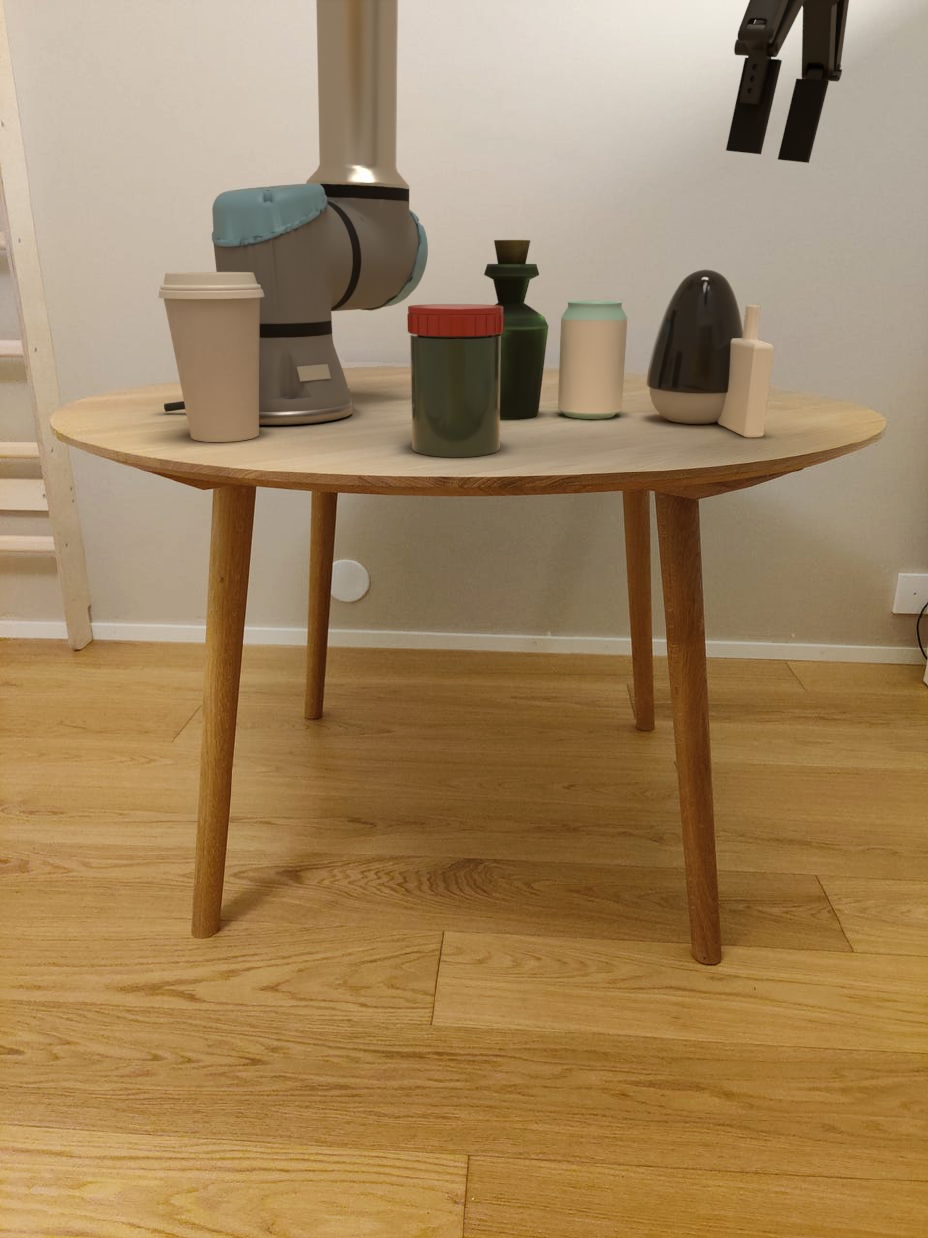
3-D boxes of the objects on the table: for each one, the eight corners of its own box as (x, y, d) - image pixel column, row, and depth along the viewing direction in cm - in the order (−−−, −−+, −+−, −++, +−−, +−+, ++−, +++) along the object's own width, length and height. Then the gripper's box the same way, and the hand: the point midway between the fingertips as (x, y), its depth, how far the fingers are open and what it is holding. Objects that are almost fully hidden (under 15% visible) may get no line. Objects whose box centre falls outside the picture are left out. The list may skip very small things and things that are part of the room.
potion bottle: (458, 413, 103) (457, 240, 97) (514, 406, 108) (518, 240, 101) (502, 423, 97) (505, 239, 91) (560, 415, 102) (567, 239, 95)
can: (590, 422, 98) (596, 303, 93) (544, 414, 103) (548, 300, 99) (634, 415, 102) (642, 301, 98) (588, 408, 107) (593, 298, 103)
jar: (395, 452, 83) (392, 314, 79) (439, 437, 89) (437, 309, 85) (475, 460, 79) (475, 317, 75) (513, 445, 86) (516, 312, 82)
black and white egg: (732, 413, 104) (748, 268, 98) (748, 429, 94) (767, 270, 88) (640, 411, 105) (651, 268, 99) (647, 427, 95) (659, 269, 89)
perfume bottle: (764, 437, 90) (780, 307, 85) (745, 437, 90) (759, 307, 85) (734, 423, 97) (747, 303, 93) (716, 423, 97) (728, 303, 93)
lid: (389, 334, 79) (388, 307, 78) (437, 327, 86) (437, 303, 85) (476, 337, 75) (476, 309, 75) (519, 331, 82) (519, 305, 82)
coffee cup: (241, 424, 96) (228, 271, 91) (294, 436, 90) (283, 272, 85) (156, 435, 90) (136, 272, 85) (206, 449, 84) (188, 273, 78)
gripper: (849, -219, 59) (765, 152, 68) (923, -111, 78) (849, 168, 87) (737, -209, 62) (672, 143, 72) (834, -108, 81) (772, 160, 91)
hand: (769, 157), depth 80 cm, fingers open, 13 cm apart
